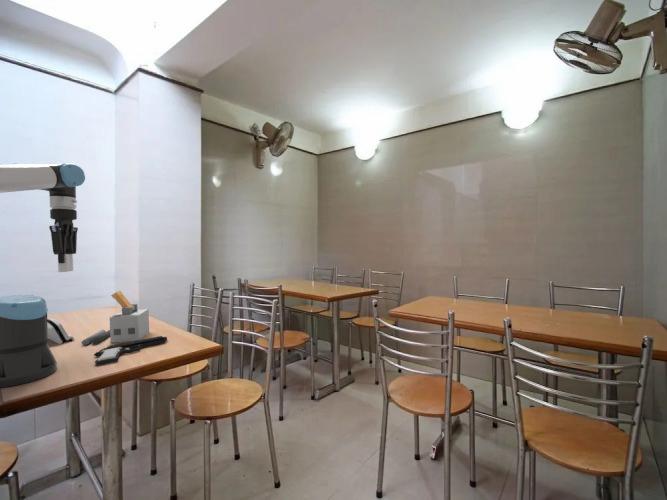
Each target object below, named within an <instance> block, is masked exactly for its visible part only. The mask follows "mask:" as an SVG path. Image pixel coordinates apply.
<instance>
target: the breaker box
mask: <svg viewBox="0 0 667 500" xmlns="http://www.w3.org/2000/svg"><path fill="white" fill-rule="evenodd" d="M130 304H131V305H134V306H135V308H136V309H135V310H134V311H132V312H131V307H121V311H120V312H117V313H115V314H113V315H112V316H109V330H110V336H109V338H110V339H109V340H110V341H109V343H111V344H112V343H126V342H131V341H137V340H142V339H144V337H145V336H147V334H149V333H150V315H149V313H150V312H149V311H150V310H149V308H148V309H146V308H145V309H138V303H130Z"/></svg>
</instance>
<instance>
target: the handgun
mask: <svg viewBox="0 0 667 500" xmlns="http://www.w3.org/2000/svg"><path fill="white" fill-rule="evenodd" d="M167 341H168V338H167V336H163V335H158V336H154V337H148V338H141V339H140V340H137V341H125V342H120V343H117V344H112V345H111V344H110V345H107V346H106V347H104V348H102V349H100V350H98V351H96V352H95V353H94V354H93V356H95V357H98V358H97V359H95V361H94V363H95V365H97V366H100V365H101V366H102V365H106V364H107V365H108V364H111V363H115V362H118V360H119V357H120V356H122V355H126V354H131V353H136V352H139V351H141V349H144V348H148V347H154V346H158V345H162V344H166V342H167Z"/></svg>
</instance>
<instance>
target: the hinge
mask: <svg viewBox="0 0 667 500" xmlns="http://www.w3.org/2000/svg"><path fill="white" fill-rule="evenodd" d="M47 327H48V340H50V341H51V342H54V343H56V344H57V345H61V344H63V342H64V341H66V342H67V341H69V340H71V341H73V342H74V341H75V339H74V336H72V335H70V334H68V332H67V331H66V330H65V328H64V326H63V324H61V322H59V321H58V320H57V319H55V318H53V317H51V318H47Z"/></svg>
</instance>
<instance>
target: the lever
mask: <svg viewBox="0 0 667 500" xmlns="http://www.w3.org/2000/svg"><path fill="white" fill-rule="evenodd" d="M110 296H111V297H112V298H113V299H115V300H116V302H117V303H118V304H119V305H120V307H121V308H123V307H131V312H132V311H134V310H135V309H136V308H135V306H134V305H131V304H132V303H131V302H130V301H129V300H128V299H127V298H126V296H125V295H124V293H123V292H122V291H121V290H118V291H116V292H114V293H112V294H111V295H110Z"/></svg>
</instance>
